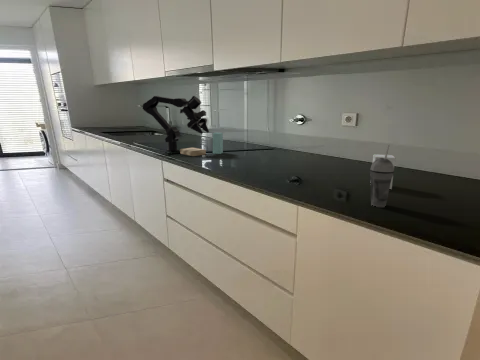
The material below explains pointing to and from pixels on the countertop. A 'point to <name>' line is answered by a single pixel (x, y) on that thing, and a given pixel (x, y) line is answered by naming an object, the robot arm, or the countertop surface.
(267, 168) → the countertop surface
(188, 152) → the birch base block
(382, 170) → the beverage cup
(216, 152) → the teal tall block
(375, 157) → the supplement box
